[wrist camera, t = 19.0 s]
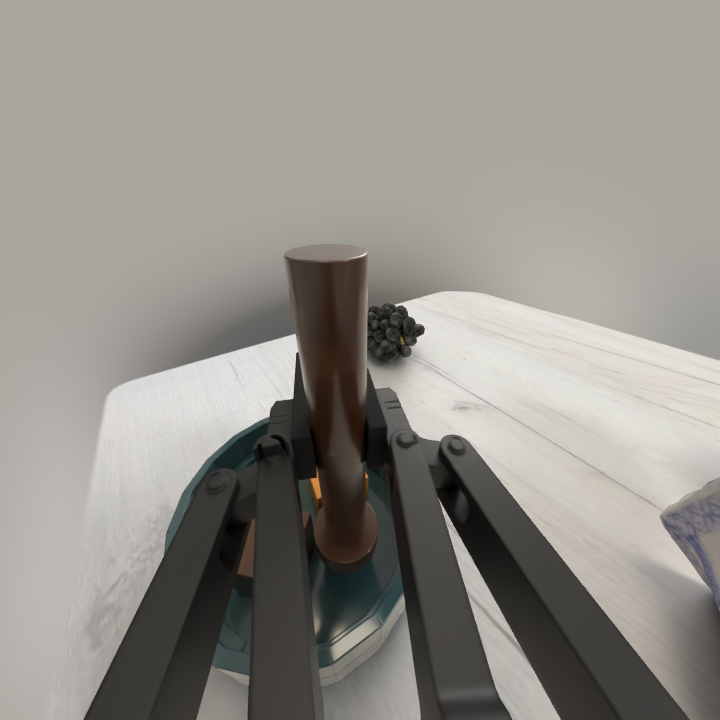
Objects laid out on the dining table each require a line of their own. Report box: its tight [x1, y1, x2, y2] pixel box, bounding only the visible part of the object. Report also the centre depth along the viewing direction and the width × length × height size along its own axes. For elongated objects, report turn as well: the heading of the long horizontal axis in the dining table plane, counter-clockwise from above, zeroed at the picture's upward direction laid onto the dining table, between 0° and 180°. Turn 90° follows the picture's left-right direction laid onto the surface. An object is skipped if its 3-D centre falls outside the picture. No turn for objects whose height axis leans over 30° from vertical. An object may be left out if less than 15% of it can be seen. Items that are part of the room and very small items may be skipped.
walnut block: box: [233, 511, 315, 598], centre depth 17 cm, size 4×4×4 cm
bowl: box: [164, 417, 406, 687], centre depth 19 cm, size 16×16×6 cm
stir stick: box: [284, 244, 378, 574], centre depth 12 cm, size 4×4×18 cm
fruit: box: [367, 303, 425, 363], centre depth 42 cm, size 9×8×15 cm
